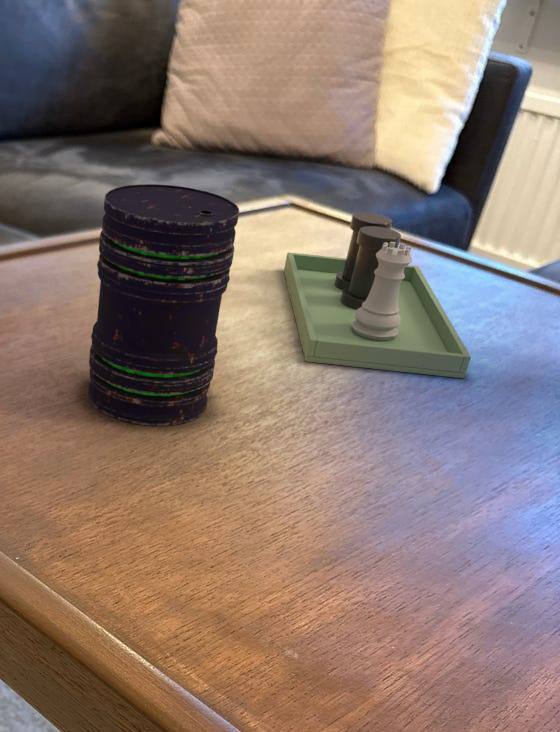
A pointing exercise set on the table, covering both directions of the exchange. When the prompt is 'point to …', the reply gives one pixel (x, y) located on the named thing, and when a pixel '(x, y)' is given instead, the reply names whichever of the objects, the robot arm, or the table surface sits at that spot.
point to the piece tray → (344, 347)
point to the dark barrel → (159, 301)
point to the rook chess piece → (383, 295)
